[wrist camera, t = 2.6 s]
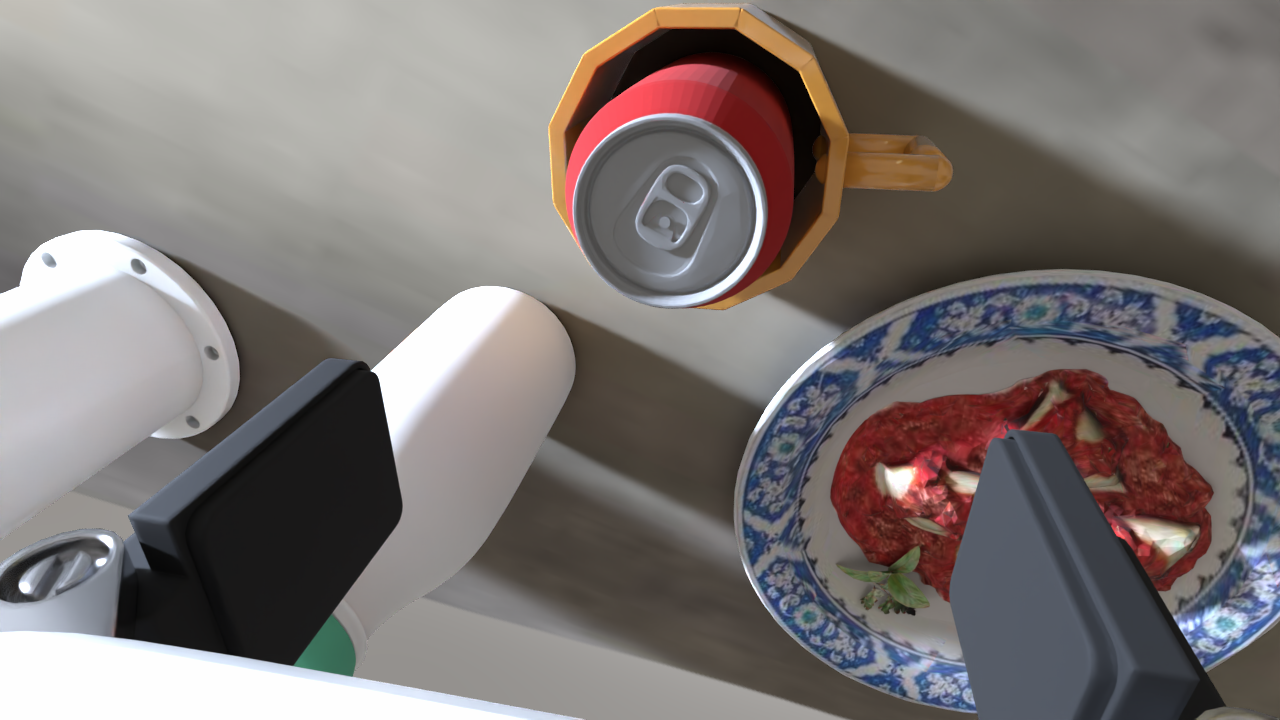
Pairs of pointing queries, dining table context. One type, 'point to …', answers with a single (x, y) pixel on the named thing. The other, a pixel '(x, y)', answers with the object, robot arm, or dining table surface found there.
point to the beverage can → (685, 182)
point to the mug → (835, 149)
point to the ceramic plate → (988, 408)
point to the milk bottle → (453, 450)
